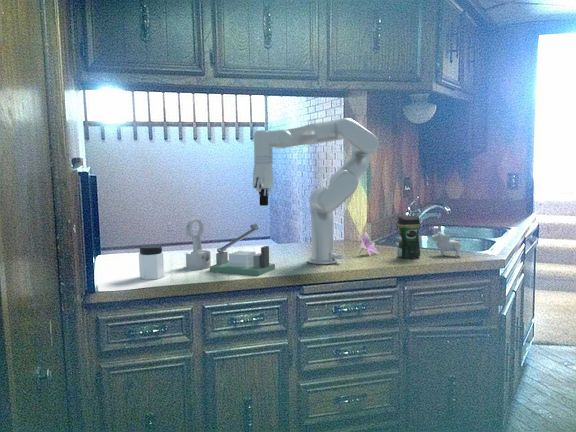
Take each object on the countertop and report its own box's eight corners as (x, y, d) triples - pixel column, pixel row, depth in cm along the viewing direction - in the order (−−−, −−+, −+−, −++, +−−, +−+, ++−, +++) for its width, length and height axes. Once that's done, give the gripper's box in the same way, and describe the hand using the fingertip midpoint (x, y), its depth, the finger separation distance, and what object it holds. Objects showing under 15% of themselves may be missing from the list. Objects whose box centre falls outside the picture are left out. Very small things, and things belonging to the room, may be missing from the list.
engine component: (215, 266, 223) (199, 264, 229) (214, 217, 220) (198, 216, 227) (195, 271, 214) (179, 268, 221) (194, 220, 212) (177, 218, 218)
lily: (356, 259, 239) (366, 241, 236) (345, 245, 249) (355, 228, 246) (377, 265, 245) (387, 247, 242) (366, 251, 255) (375, 234, 252)
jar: (167, 277, 203) (166, 246, 202) (147, 281, 198) (146, 249, 197) (156, 274, 210) (155, 243, 209) (136, 277, 205) (135, 246, 203)
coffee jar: (416, 255, 242) (416, 214, 240) (422, 258, 234) (422, 216, 232) (395, 256, 241) (395, 214, 239) (400, 259, 233) (401, 216, 231)
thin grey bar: (259, 229, 213) (256, 223, 213) (254, 231, 209) (251, 224, 209) (223, 251, 220) (220, 245, 221) (218, 253, 216) (215, 247, 217)
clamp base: (274, 268, 217) (274, 244, 216) (259, 275, 204) (258, 249, 203) (227, 264, 226) (227, 241, 225) (209, 271, 213) (209, 246, 212)
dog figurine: (432, 253, 246) (432, 230, 244) (461, 255, 241) (461, 231, 240) (430, 255, 241) (431, 232, 240) (460, 257, 236) (461, 233, 235)
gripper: (263, 160, 228) (264, 203, 230) (246, 161, 215) (247, 206, 217) (279, 160, 225) (280, 204, 227) (263, 160, 212) (263, 207, 214)
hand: (263, 205), depth 222 cm, fingers closed
